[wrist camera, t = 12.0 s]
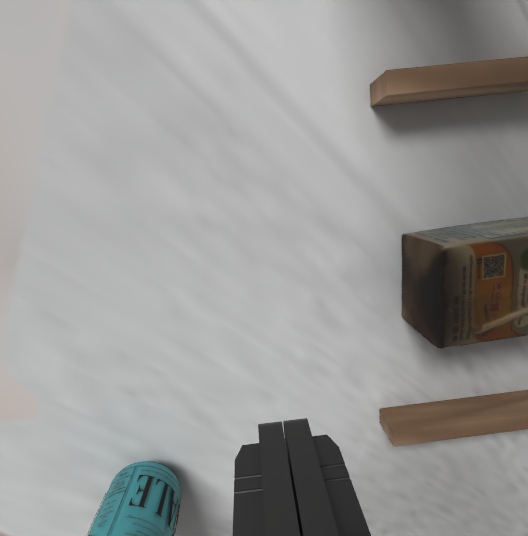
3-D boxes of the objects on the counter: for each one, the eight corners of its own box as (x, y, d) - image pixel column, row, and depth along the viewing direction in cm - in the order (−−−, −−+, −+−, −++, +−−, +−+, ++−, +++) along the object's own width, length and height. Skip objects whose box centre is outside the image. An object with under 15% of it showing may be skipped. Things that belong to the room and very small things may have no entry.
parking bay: (370, 84, 25) (389, 68, 22) (661, 56, 26) (723, 35, 22) (379, 422, 31) (395, 450, 28) (611, 393, 32) (653, 416, 29)
